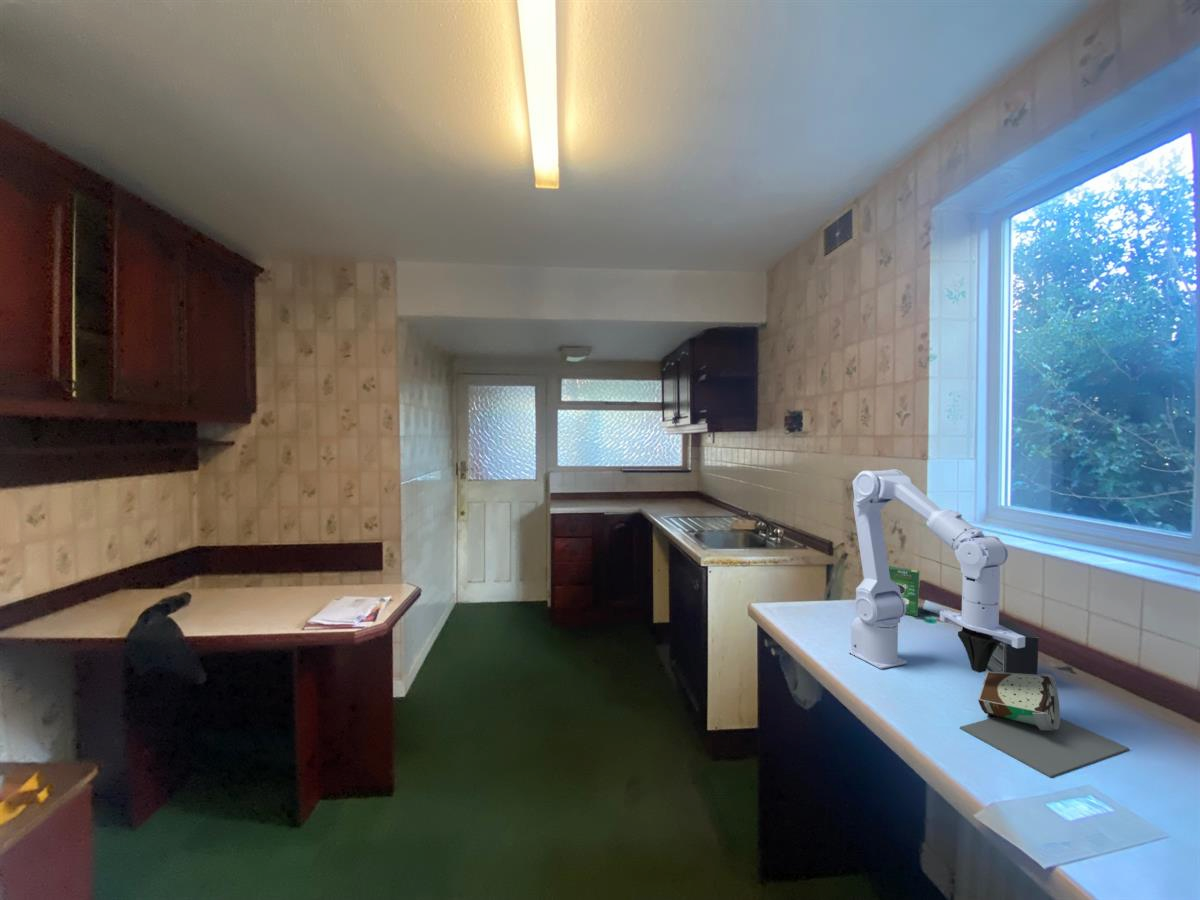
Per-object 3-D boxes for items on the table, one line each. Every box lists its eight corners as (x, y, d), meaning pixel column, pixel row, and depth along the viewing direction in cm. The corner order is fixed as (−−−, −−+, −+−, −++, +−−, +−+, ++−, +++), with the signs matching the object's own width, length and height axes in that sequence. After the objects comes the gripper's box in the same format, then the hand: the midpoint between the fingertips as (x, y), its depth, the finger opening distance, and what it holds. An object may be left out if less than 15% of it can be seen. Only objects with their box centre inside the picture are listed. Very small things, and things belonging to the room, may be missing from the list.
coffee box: (919, 614, 149) (919, 569, 149) (918, 617, 147) (919, 571, 147) (887, 609, 154) (887, 565, 154) (886, 612, 152) (886, 567, 151)
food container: (985, 735, 94) (1057, 749, 87) (976, 704, 94) (1047, 715, 86) (996, 695, 102) (1063, 705, 95) (988, 667, 102) (1054, 674, 95)
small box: (1040, 687, 107) (1041, 637, 106) (1004, 684, 108) (1005, 635, 108) (1010, 664, 117) (1011, 618, 117) (978, 662, 118) (979, 617, 118)
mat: (959, 728, 92) (959, 726, 92) (1034, 707, 99) (1034, 706, 99) (1050, 777, 79) (1050, 775, 79) (1129, 749, 86) (1129, 748, 86)
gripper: (1037, 609, 93) (1035, 684, 93) (957, 586, 106) (956, 651, 107) (1010, 614, 90) (1008, 691, 91) (932, 590, 104) (931, 657, 105)
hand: (978, 670), depth 99 cm, fingers closed
